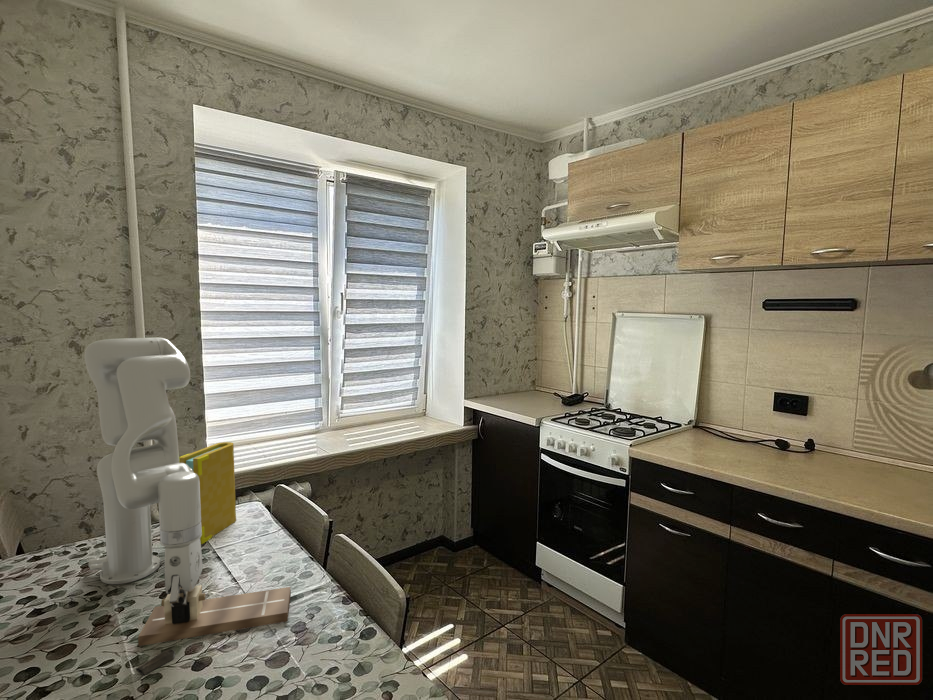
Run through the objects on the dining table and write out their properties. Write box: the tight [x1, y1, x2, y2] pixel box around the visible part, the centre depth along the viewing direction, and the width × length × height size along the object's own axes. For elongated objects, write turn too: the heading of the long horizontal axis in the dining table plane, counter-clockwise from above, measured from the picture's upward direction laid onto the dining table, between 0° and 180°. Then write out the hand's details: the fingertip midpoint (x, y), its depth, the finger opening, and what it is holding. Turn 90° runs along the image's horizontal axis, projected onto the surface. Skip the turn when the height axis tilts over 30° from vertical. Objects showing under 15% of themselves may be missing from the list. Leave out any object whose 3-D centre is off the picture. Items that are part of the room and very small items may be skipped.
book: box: [179, 441, 237, 545], centre depth 145 cm, size 17×7×25 cm, turn 168°
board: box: [137, 586, 292, 647], centre depth 104 cm, size 28×10×2 cm, turn 106°
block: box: [135, 648, 176, 676], centre depth 91 cm, size 4×6×2 cm, turn 150°
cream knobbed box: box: [160, 584, 206, 624], centre depth 102 cm, size 8×4×5 cm, turn 106°
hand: (184, 613), depth 102 cm, fingers closed on cream knobbed box, 4 cm apart
